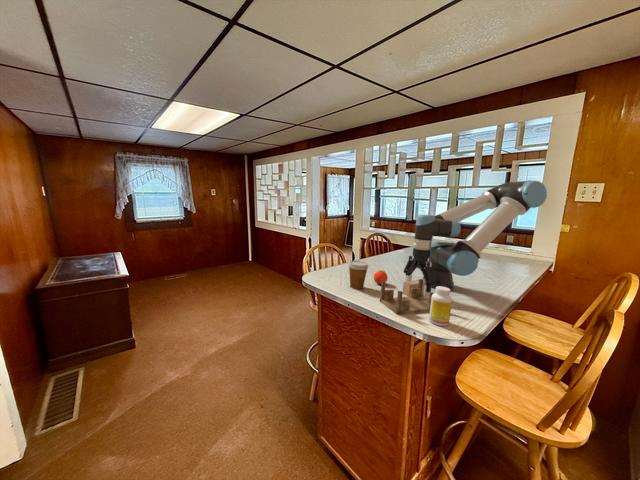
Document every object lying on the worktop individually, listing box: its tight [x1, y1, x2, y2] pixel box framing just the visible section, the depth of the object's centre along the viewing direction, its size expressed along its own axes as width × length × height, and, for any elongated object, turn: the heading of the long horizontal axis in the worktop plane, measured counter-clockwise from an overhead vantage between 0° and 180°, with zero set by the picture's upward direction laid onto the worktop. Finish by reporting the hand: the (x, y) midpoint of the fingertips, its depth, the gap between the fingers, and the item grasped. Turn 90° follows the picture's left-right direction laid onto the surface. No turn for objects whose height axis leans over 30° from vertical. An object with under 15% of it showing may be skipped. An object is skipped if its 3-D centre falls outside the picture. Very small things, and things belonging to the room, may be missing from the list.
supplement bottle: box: [428, 286, 453, 327], centre depth 93 cm, size 7×7×13 cm
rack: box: [379, 278, 432, 316], centre depth 107 cm, size 20×13×9 cm, turn 107°
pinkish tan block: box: [402, 278, 432, 297], centre depth 123 cm, size 14×4×6 cm, turn 116°
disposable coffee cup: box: [347, 260, 369, 290], centre depth 127 cm, size 10×10×12 cm
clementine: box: [373, 270, 388, 285], centre depth 134 cm, size 8×7×7 cm
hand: (416, 293), depth 123 cm, fingers open, 12 cm apart
